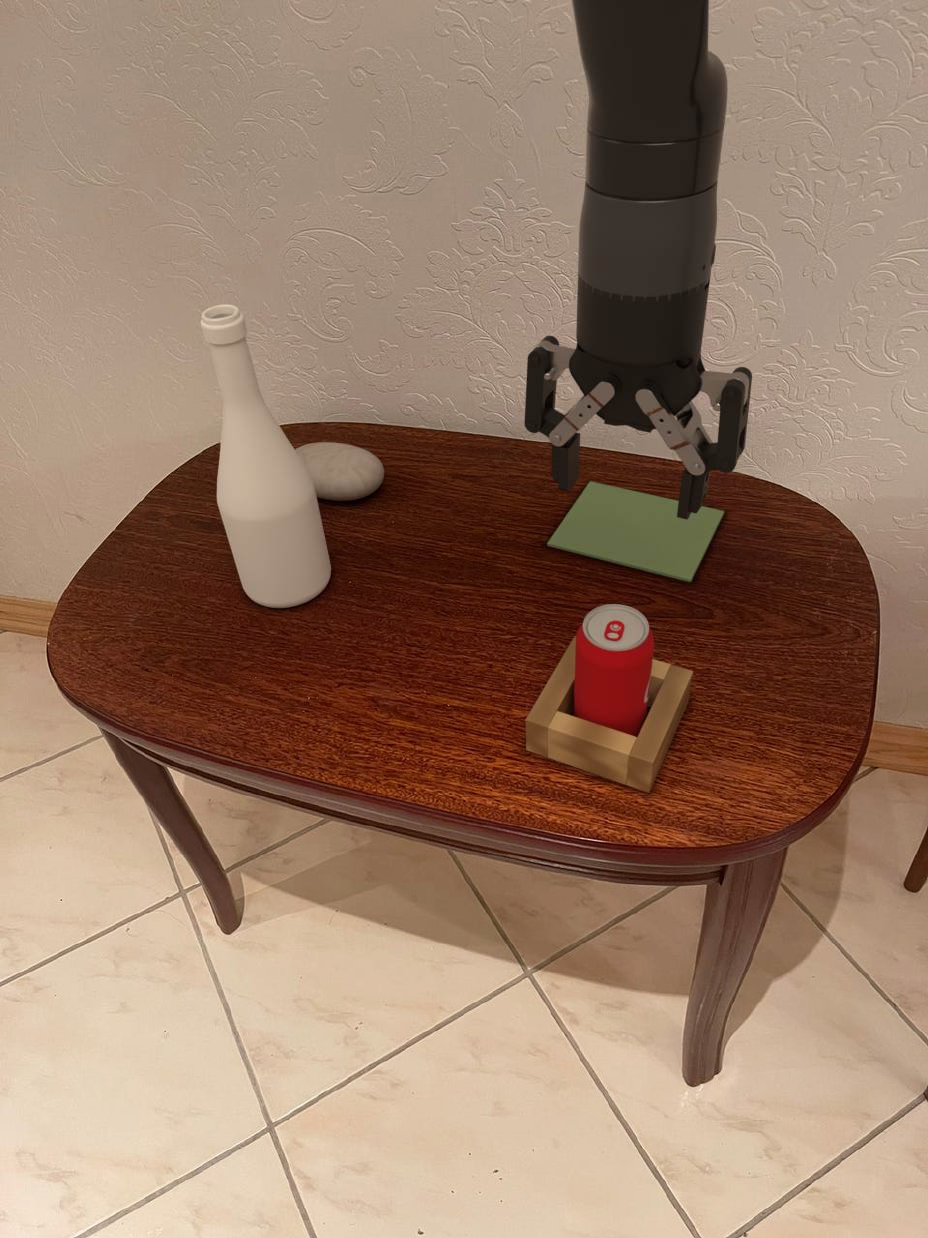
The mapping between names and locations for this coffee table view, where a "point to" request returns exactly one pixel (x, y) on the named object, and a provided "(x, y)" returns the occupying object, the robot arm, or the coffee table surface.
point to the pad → (637, 531)
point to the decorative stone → (341, 470)
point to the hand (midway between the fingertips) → (626, 498)
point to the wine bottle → (262, 481)
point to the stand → (604, 746)
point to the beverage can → (613, 668)
